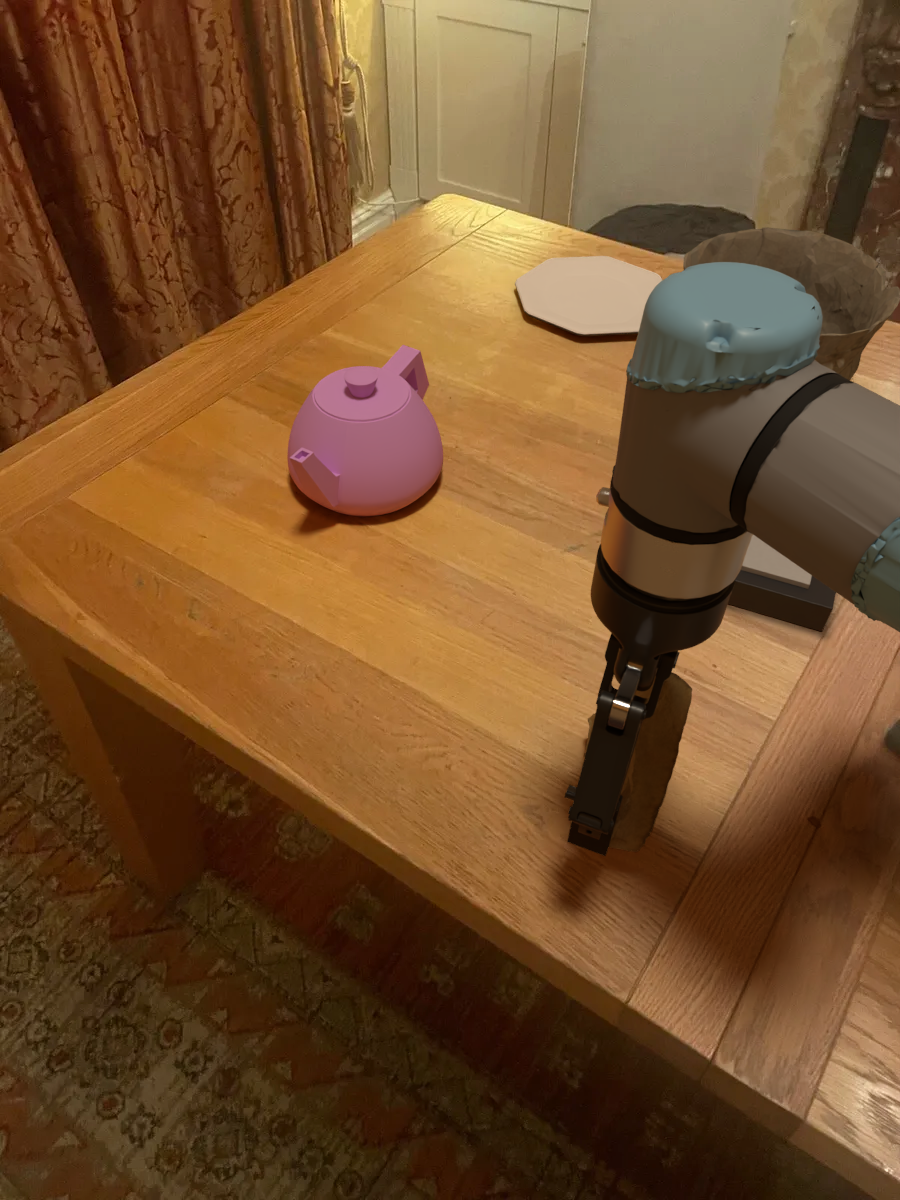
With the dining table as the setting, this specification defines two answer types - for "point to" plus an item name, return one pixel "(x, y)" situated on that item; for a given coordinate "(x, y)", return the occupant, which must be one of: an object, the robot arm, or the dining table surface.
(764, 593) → the scale
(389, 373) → the teapot
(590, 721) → the rock
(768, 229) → the bowl
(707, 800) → the dining table surface
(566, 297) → the plate
